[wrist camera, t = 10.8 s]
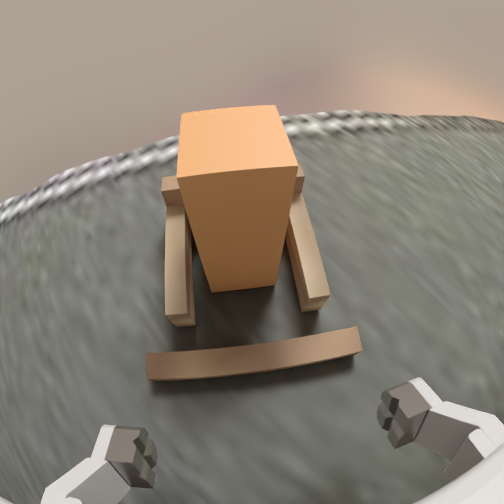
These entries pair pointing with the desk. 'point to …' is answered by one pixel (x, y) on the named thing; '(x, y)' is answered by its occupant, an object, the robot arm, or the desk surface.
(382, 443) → the desk surface
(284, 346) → the door edge strip
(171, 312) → the index bracket
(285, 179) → the block
